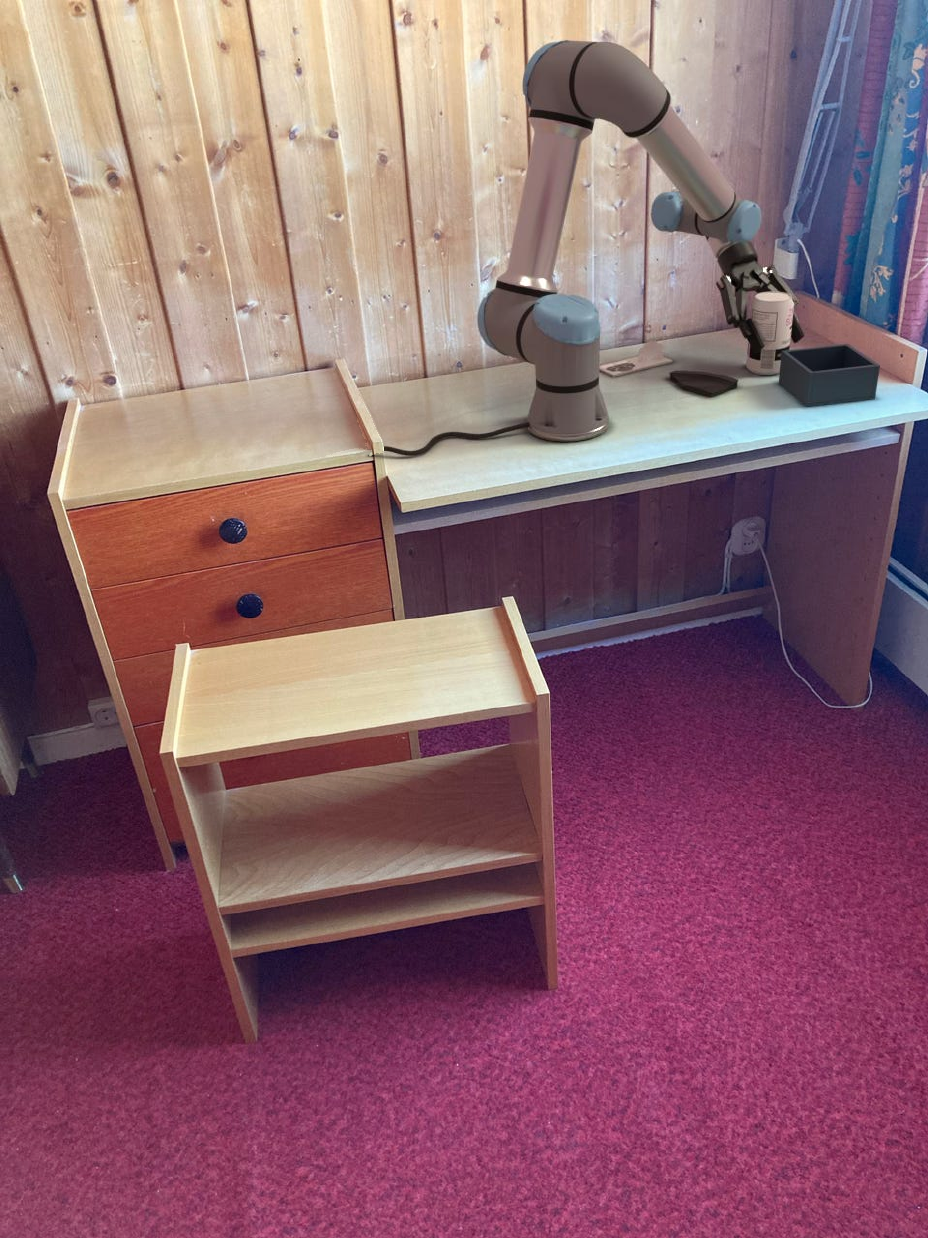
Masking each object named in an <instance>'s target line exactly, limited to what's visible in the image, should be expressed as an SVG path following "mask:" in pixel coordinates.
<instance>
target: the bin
mask: <svg viewBox="0 0 928 1238" xmlns="http://www.w3.org/2000/svg"><path fill="white" fill-rule="evenodd" d="M880 368H881V365H880V364H879V363H877V362H876V361H874V360H873V359H872V358H870V357H868V356H866V354H864V353H862V352H861V351H859V350H858V349H857V348H855V347H854V346H852V345H850V344H849V343H842V344H832V345H824V346H823V345H822V346H814V347H805V348H796V349H795V348H794V349H789V350H786V351H782V353H781V363H780V373H779V374H778V384H779V385H780V386H782V388H783V389H785V390H786V391H787V392H788V393H789V394H790V395H792V396H793V398H795V399H796V400H797V401H799V402H800V403H801V404H802V405H803V406H805V407H806V408H810V407H818V406H826V405H836V404H844V403H845V404H846V403H853V402H861V401H870V400H871V401H872V400H875V399H876V395H877V388H878V381H879V375H880V374H879V373H880Z"/></svg>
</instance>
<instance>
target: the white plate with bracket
mask: <svg viewBox="0 0 928 1238" xmlns="http://www.w3.org/2000/svg"><path fill="white" fill-rule="evenodd" d="M671 363H673V360H672V359H670V358H668V357H666V356H665V354H664V351H663V344H661V343H658V342H657V340H650V341H646V342H645V343H644V346H643V347H641V348H640V349H639V351H638V354H637V356H634V357H630V358H625V359H622V360H618V361H614V362H609V363H605V364H601V365H599V372H602V373H604V374H607V375H608V376H610V377H612V378H615V377H619V376H625V375H628V374H632V373H636V372H639V371H644V370H648V369H652V368H656V367H659V366H663V365H668V364H671Z"/></svg>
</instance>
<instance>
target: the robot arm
mask: <svg viewBox="0 0 928 1238" xmlns="http://www.w3.org/2000/svg"><path fill="white" fill-rule="evenodd" d="M522 94H523V95H524V96H525V98H524V100H525V103H526V105H527V106H528V107H529V114H528V119H527V121H528V122H529V124H530V126H531V127H532V129H533V138H532V142H531V148H530V153H529V158H528V163H527V167H526V173H525V178H524V182H523V188H522V193H521V198H520V202H519V208H518V213H517V216H516V217H517V218H516V224H515V228H514V233H513V238H512V243H511V247H510V248H511V249H510V253H509V259H508V263H507V267H506V270H505V272H503V273H502V274H501V275H499V276H497V278H496V282H495V286H494V289H491V290H490V291H489V292H487V294H486V296H483V298H482V300H481V302H480V304H479V307H478V310H477V321H476V322H477V328H478V332H479V335H480V337H481V339H482V340H483V342H484V343H485V344H486V345H487V346H488V347H489V348H490V349H492V350H494V351H496V352H497V353H499V354H500V355H503V356H506V357H511V358H515V359H517V360H520V361H523V362H524V363H525V362H526V363H528V364H532V365H534V367H535V389H534V390H535V391H534V394H533V396H532V399H531V403H530V407H529V410H528V414H527V421H526V422H522V423H518V424H515V425H510V426H505V427H502V428H499V429H496V430H492V431H488V432H482V433H470V432H462V431H446V432H442V433H439V434H436V435H435V436H434V437H432V438H431V439H430V441H429V442H428V443H427V444H426V445H425V446H423V447H422V448H419V449H415V450H407V449H401V448H397V447H394V446H387V445H383V446H384V451H383V452H388V453H393V454H397V455H401V456H405V457H414V456H418V455H423V454H424V453H426V452H428V451H429V450H430V449H431V448H432V447H433V446H434V445H435V443H436V442H438V441H439V440H443V439H445V438H453V437H454V438H457V437H458V438H464V439H472V440H473V439H474V440H477V439H478V440H479V439H481V440H482V439H488V438H492V437H496V436H499V435H502V434H506V433H509V432H513V431H517V430H522V429H525V428H527V430H528V433H530V434H532V435H533V436H534V437H537V438H539V439H542V440H546V441H550V442H551V441H552V442H560V443H561V442H563V443H564V442H565V443H567V442H579V441H585V440H589V439H593V438H595V437H598V436H600V435H602V434H604V433H605V432H606V431H607V430H608V429H609V424H610V418H609V412H608V409H607V406H606V403H605V400H604V396H603V394H602V391H601V388H600V370H599V366H600V353H601V350H600V349H601V347H600V346H601V324H600V314H599V310H598V307H597V306H596V305H595V304H594V303H593V302H592V301H591V300H589V299H587V298H585V297H582V296H580V295H576V294H569V295H568V294H566V293H558V292H559V291H558V289H557V287H556V285H555V283H554V282H553V276H554V271H555V266H556V263H557V257H558V253H559V248H560V245H561V244H560V243H561V239H562V235H563V229H564V224H565V220H566V216H567V210H568V205H569V201H570V198H571V192H572V187H573V183H574V178H575V174H576V168H577V164H578V161H579V160H578V159H579V155H580V150H581V145H582V142H583V141H584V140H586V139H587V138H588V137H589V136H590V135H592V134H593V131H594V126H595V121H596V120H603V121H605V122H608V123H611V124H612V125H614V126H616V127H617V128H618V129H620V131H621V132H622V133H623V134H624V135H625V137H627V138H630V139H636V140H637V141H638V143H639V144H640V145H641V146H642V147H643V149H644V150H645V151H646V152H647V154H648V155H649V156H650V157H651V158H652V160H653V162H654V163H656V165H657V166H658V167H659V168H660V170H661V171H662V172H663V173H664V174H665V176H666V177H667V179H669V182H671V183H672V185H673V186H674V187H675V188H676V190H671V191H664V192H661V193H659V194H658V195H657V196H656V197H654V200H653V201H652V204H651V209H650V219H651V223H652V225H653V226H654V227H655V229H656V230H657V231H660V232H666V233H675V232H678V233H685V234H689V235H696V236H700V237H704V238H705V239H706V241H707V243H708V245H709V247H710V249H711V251H712V253H713V255H714V258H716V259H717V261H716V262H717V264H718V266H719V269H720V271H721V272H722V275H721V277H719V279H718V280H716V282H715V285H716V288H717V289H718V290H719V292H720V297H721V302H722V307H723V311H724V315H725V320H726V324H727V325H730V326H731V325H733V327H734V328H735V329H738V328H739V331H740V332H741V334H742V336H743V338H744V339H745V340H747V343H748V342H749V344H750V346H751V348H752V350H753V352H754V354H757V353H758V352H759V351H760V350H761V349H762V348H764V347H765V346H764V344H763V342H762V340H761V338H760V336H759V334H758V332H757V330H756V327H755V325H754V323H753V321H752V319H751V318H750V317H749V318H747V316H748V293H749V292H755V293H757V294H759V293H763V292H784V293H788V294H790V295H791V296H792V297H791V298H792V300H793V303H794V308H796V306H797V305H798V304H799V303H800V299H799V298H798V297H797V296H796V294H795V293H794V292H793V291H792V289H791V288H790V287H789V286H788V284H787V283H786V282H785V280H783V278H782V277H781V276H780V274H779V272H778V271H777V268H776V266H775V264H773V263H771V264H769V266H766V267H765V266H764V267H763V266H762V265H761V264H760V263H759V255H758V253H757V251H756V248H755V246H754V245H753V242H752V241H751V240H753V239H754V238H755V236H756V235H757V233H758V231H759V230H760V227H761V224H762V211H761V207H760V206H759V204H757V203H756V202H754V201H751V200H748V199H741V198H740V196H738V194H737V193H736V192H735V190H734V189H733V188H732V187H731V185H730V184H729V182H728V181H727V180H726V179H725V177H724V176H723V174H722V173H721V172H720V170H719V169H718V167H716V165H715V164H714V162H713V160H712V159H711V158H710V156H709V155H708V154H707V153H706V151H705V150H704V149H703V147H702V146H701V145H700V143H699V142H698V140H697V138H696V137H695V136H694V135H693V133H692V132H691V130H689V128H688V127H687V125H686V124H685V123H684V121H683V120H682V118H680V116H679V115H678V113H677V112H676V111H675V109H674V108H673V107H672V96H671V93H670V91H669V90H668V89H667V87H666V86H665V85H664V83H663V82H662V81H661V80H660V78H659V77H658V76H657V74H656V73H655V72H654V71H653V70H652V69H651V68H650V66H648V65H647V64H646V62H644V61H643V60H642V59H641V58H640V57H639V56H637V55H636V54H635V53H634V52H633V51H632V50H630V49H628V48H626V47H625V46H623V45H621V44H618V43H616V42H613V41H588V40H587V41H585V40H569V39H565V40H559V41H552V42H548V43H545V44H543V45H541V47H540V48H539V49H537V50H535V52H534V53H533V54H532V55H531V57H530V58H529V60H528V61H527V64H526V66H525V70H524V71H523V77H522ZM733 287H734V290H733ZM804 337H805V333H804V332H803V329H802V328H801V325H800V319H799V317H798V315H797V313H796V311H795V309H794V310H793V320H792V329H791V340H792V342H793V344H797V343H799V342H800V341H801V340H802V339H803V338H804Z"/></svg>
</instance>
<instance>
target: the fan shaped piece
mask: <svg viewBox="0 0 928 1238" xmlns="http://www.w3.org/2000/svg"><path fill="white" fill-rule="evenodd" d="M668 374H669V380H671V381H672V382H674V383H676V384H677V385H678V386H679V387H680V388H681V389H683V390H686V391H690V392H694V393H696V394H697V393H698V394H701V395H705V396H707V397H711V398H712V397H715V396H718V395H720V394H723V393H725V392H727V391H730V390H733V389H736V388H738V383H739V379H737V378H735V377H731V376H728V375H724V374H720V373H715V372H708V371H699V370H673V371H669V372H668Z"/></svg>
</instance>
